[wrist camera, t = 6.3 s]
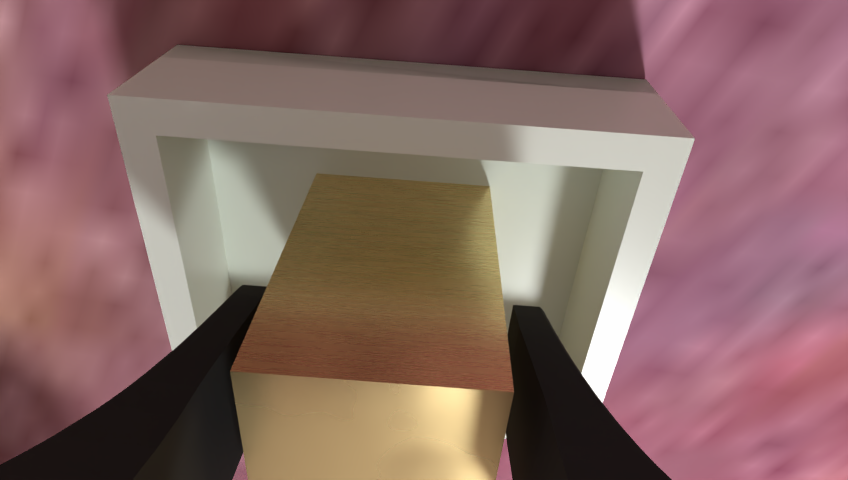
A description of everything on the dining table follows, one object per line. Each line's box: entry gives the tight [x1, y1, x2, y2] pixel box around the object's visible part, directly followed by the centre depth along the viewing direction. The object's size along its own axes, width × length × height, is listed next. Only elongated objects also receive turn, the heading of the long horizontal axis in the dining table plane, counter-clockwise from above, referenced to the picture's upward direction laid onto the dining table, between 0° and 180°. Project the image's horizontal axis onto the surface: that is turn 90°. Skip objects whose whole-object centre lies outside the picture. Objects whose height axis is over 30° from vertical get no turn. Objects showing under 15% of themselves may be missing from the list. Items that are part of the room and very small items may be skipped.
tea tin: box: [230, 173, 514, 480], centre depth 13 cm, size 4×4×7 cm
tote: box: [107, 45, 695, 438], centre depth 16 cm, size 10×12×4 cm
